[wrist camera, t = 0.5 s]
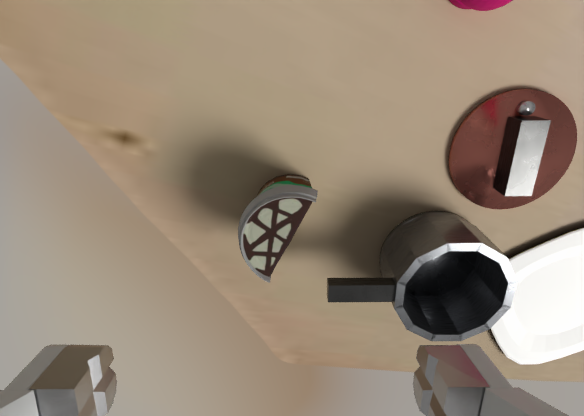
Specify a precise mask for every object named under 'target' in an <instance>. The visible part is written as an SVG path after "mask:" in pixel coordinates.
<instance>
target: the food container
mask: <svg viewBox="0 0 584 416" xmlns="http://www.w3.org/2000/svg"><path fill="white" fill-rule="evenodd" d="M316 198H317V190H314V189H312V187H311V184H310V181H309V179H308V178H305V177H303V176H299V175H290V174H288V175H283V176H278V177H276V178H274V179H272V180H270V181H268V182H267V183H266V184H265V185H264V186H263V187H262V188H261V190H260V191H259V193H258V195H257V197H256V198H255V199H253V200H252V201H251V202H250V203H249V205H248V206H247V207H246V209H245V210H244V212H243V214H242V216H241V219H240V222H239V227H238V239H239V245H240V250H241V253H242V256H243V258H244V260H245V262H246V263H247V265H248V266H249V267H250V269H251V270H252V271H253V272H254V273H255V274H256V275H257V276H259V277H260V278H262V279H263V280H265V281H267V282H269V283H270V278H271V274H272V272H273V270H274V268H275V266H276V265H277V263H278V261H279V259H280V258H281V256H282V254H283V253H284V251H285V249H286V248H287V246H288V245H289V243H290V241H291V240H292V238H293V236H294V234H295V232H296V230H297V228H298V227H299V225H300V223H301V221H302V219H303V218H304V216H305V214H306V212H307V211H308V209H309V207H310V205H311V204H312V202H316Z"/></svg>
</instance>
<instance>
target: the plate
mask: <svg viewBox="0 0 584 416" xmlns="http://www.w3.org/2000/svg"><path fill="white" fill-rule="evenodd" d="M508 260H509V262H510V265H511V267H512V269H513V272H514V274H515V276H516V279H517V281H518V282H517V286H516V290H515V293H514V297H513V301H512V305H511V308H510V309H509V310H508V311H507V312H506V313H505V314H504V315H503V316H502V317H501V318H500V319H499V320H498V321H497V322H496V323H495V324H494V325H493V326H492V327H491V328H490V329H491V331H492V333H493V335H494V337H495V339H496V341H497V343H498V345H499V347H500V348H501V349H502V351H503V352H504V354H505V355H506V357H508V358H509V359H511V360H513V361H515V362H516V363H518V364H540V363H544V362H548V361H551V360H555V359H559V358H562V357H565V356H568V355H571V354H573V353H576V352H579V351H582V350H584V227H583V228H580V229H576V230H573V231H570V232H567V233H565V234H563V235H560V236H558V237H555V238H553V239H551V240H548V241H546V242H543V243H541V244H539V245H537V246H534V247H532V248H530V249H528V250H525V251H523V252H521V253H519V254H517V255H515V256H513V257H511V258H509V259H508Z"/></svg>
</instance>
